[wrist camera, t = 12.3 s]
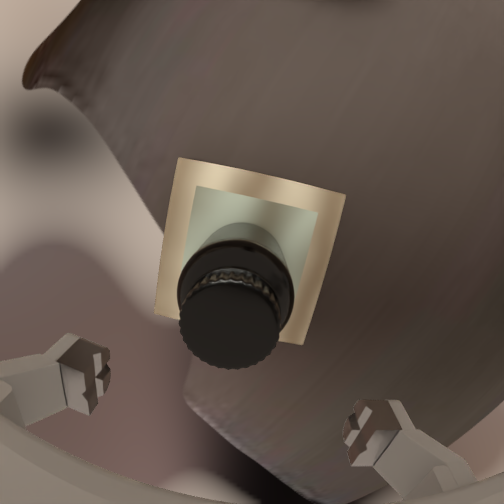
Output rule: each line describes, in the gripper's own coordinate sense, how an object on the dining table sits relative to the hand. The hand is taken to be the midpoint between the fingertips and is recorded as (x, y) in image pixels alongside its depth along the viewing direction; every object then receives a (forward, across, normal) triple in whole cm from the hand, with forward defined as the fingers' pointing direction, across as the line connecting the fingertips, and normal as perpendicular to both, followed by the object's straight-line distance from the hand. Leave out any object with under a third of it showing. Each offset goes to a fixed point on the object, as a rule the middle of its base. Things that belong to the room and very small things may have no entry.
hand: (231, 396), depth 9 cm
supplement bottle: (+17, +1, 0) cm, 17 cm away
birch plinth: (+20, 0, 0) cm, 20 cm away
